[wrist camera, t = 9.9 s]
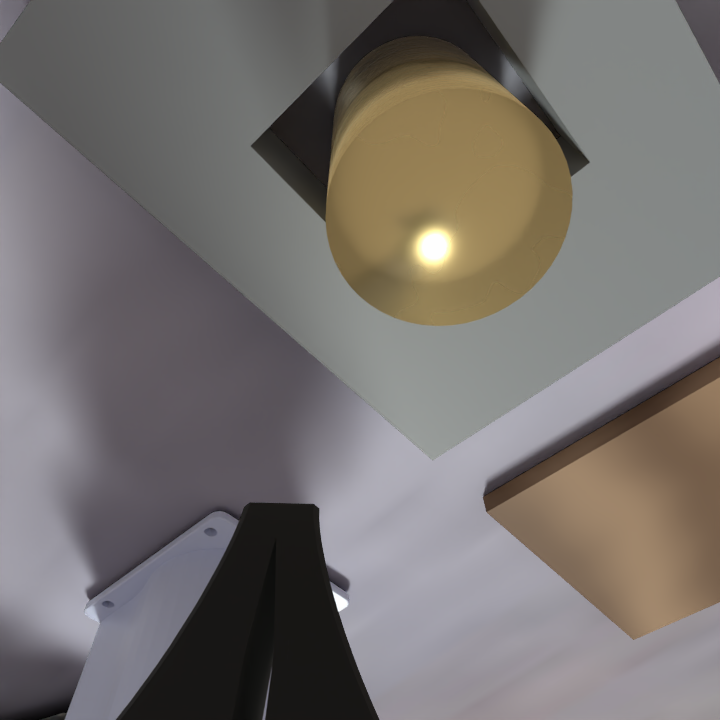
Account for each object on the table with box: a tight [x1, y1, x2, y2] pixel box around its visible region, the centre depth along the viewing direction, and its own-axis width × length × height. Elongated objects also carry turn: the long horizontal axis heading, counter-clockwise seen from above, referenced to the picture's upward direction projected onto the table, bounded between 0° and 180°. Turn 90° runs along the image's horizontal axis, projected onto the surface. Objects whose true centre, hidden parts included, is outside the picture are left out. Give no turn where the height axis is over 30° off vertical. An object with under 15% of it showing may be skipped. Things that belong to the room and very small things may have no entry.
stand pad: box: [483, 357, 720, 640], centre depth 25 cm, size 12×12×1 cm
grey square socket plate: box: [0, 0, 720, 460], centre depth 16 cm, size 12×16×2 cm
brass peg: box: [325, 36, 573, 326], centre depth 14 cm, size 4×4×7 cm
